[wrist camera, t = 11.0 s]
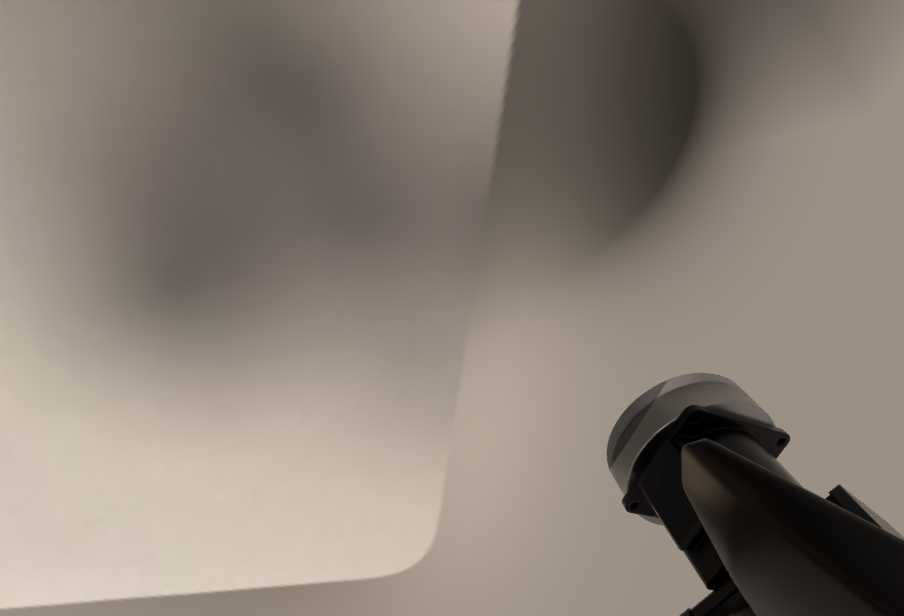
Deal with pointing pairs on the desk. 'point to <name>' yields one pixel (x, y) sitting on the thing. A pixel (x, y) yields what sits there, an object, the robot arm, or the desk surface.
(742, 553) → the robot arm
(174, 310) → the desk surface
